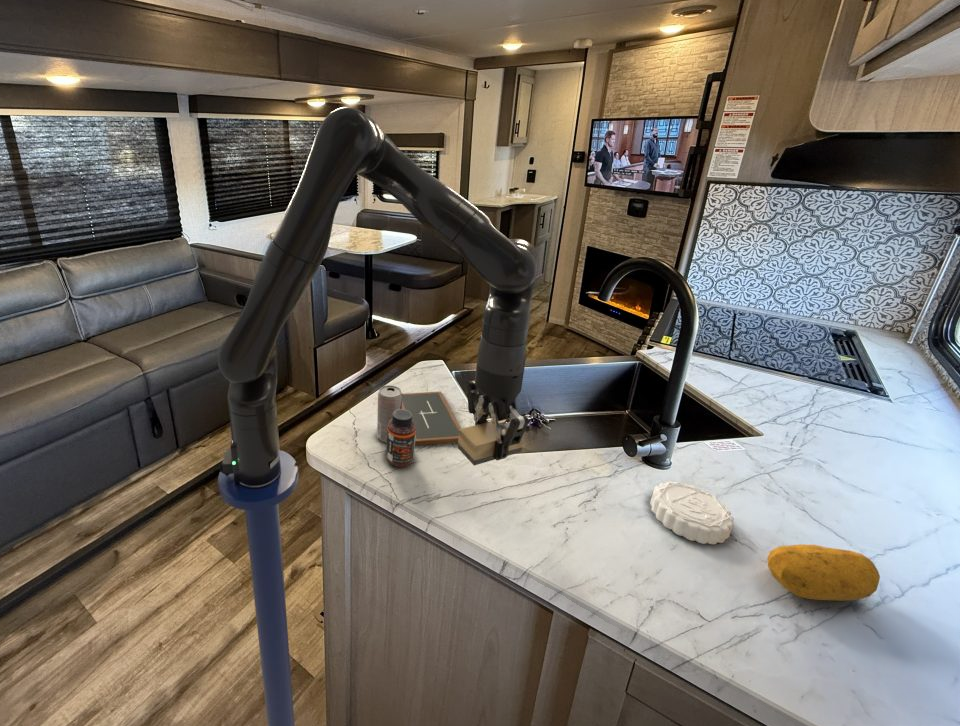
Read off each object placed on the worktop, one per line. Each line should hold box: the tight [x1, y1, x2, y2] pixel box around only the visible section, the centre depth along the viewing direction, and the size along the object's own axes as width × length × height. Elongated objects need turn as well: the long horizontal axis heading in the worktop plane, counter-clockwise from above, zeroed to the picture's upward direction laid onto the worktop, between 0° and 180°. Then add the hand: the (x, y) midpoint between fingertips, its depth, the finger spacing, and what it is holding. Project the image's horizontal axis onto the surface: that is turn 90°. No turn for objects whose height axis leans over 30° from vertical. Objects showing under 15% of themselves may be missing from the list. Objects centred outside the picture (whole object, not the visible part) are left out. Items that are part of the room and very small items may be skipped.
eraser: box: [457, 420, 525, 466], centre depth 80 cm, size 10×5×4 cm, turn 112°
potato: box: [766, 544, 881, 602], centre depth 69 cm, size 7×14×7 cm, turn 85°
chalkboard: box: [402, 390, 462, 447], centre depth 112 cm, size 12×20×1 cm, turn 7°
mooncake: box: [649, 481, 735, 545], centre depth 83 cm, size 12×12×4 cm
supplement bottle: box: [385, 409, 416, 468], centre depth 96 cm, size 6×6×11 cm
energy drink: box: [376, 384, 403, 444], centre depth 104 cm, size 5×5×12 cm
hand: (489, 448), depth 81 cm, fingers closed on eraser, 5 cm apart
